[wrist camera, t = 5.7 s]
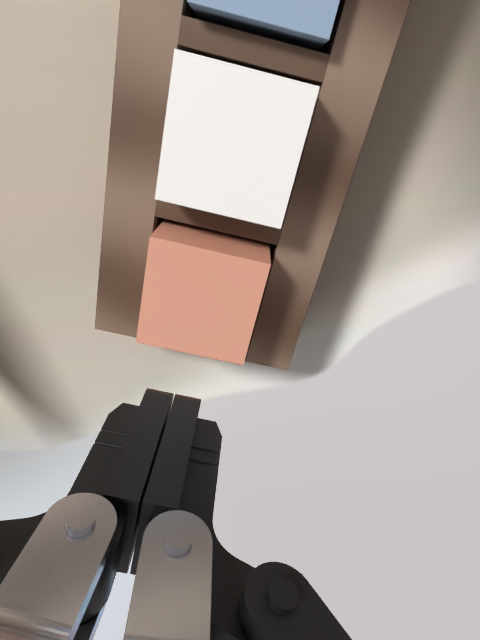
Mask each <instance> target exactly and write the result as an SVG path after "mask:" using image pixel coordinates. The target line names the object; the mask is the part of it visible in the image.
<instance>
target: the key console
mask: <svg viewBox="0 0 480 640" xmlns="http://www.w3.org/2000/svg"><path fill="white" fill-rule="evenodd" d="M410 1H411V0H340V2H339V5H338V9H337V13H336V16H335V20H334V24H333V27H332V31H331V35H330V38H329V40H328V41H327V42H326V43H325V44H324V45H323V46H322V47H321V48H320V49H319V50H318V51H317V50H314V49H310V48H306V47H302V46H299V45H295V44H291V43H287V42H284V41H280V40H276V39H273V38H269V37H265V36H261V35H258V34H254V33H250V32H246V31H243V30H239V29H235V28H231V27H228V26H224V25H220V24H217V23H213V22H209V21H205V20H202V19H198V17H197V16H196V14H195V13H194V11H193V10H192V8H191V7H190V5H189V4H188V2H187V0H121V1H120V13H119V26H118V39H117V52H116V64H115V77H114V90H113V103H112V115H111V128H110V141H109V153H108V166H107V179H106V192H105V204H104V217H103V230H102V243H101V255H100V268H99V281H98V294H97V306H96V319H95V329H99V330H104V331H108V332H113V333H118V334H122V335H127V336H131V337H137V329H138V322H139V314H140V306H141V299H142V291H143V284H144V276H145V268H146V261H147V253H148V246H149V238H150V236H151V234H152V233H153V232H154V231H155V230H156V229H157V227H158V226H159V225H160V224H161V223H162V222H163V221H164V219H167V220H171V221H175V222H179V223H184V224H188V225H192V226H196V227H201V228H205V229H209V230H214V231H218V232H222V233H226V234H231V235H235V236H239V237H243V238H248V239H252V240H256V241H260V242H265V243H269V246H270V259H271V266H270V270H269V274H268V277H267V281H266V284H265V288H264V292H263V295H262V299H261V303H260V306H259V310H258V314H257V317H256V321H255V324H254V328H253V332H252V335H251V339H250V343H249V346H248V350H247V354H246V357H245V361H248V362H252V363H257V364H262V365H266V366H271V367H275V368H280V369H285V370H287V369H288V366H289V363H290V360H291V357H292V354H293V351H294V348H295V345H296V342H297V339H298V336H299V333H300V330H301V327H302V324H303V321H304V318H305V315H306V312H307V309H308V306H309V303H310V300H311V297H312V294H313V291H314V288H315V285H316V282H317V279H318V276H319V274H320V271H321V268H322V265H323V262H324V259H325V256H326V253H327V250H328V247H329V244H330V241H331V238H332V235H333V232H334V229H335V226H336V223H337V220H338V217H339V214H340V211H341V208H342V205H343V202H344V199H345V196H346V193H347V190H348V187H349V184H350V181H351V178H352V175H353V172H354V169H355V166H356V163H357V160H358V157H359V154H360V151H361V148H362V145H363V142H364V139H365V136H366V133H367V130H368V127H369V124H370V121H371V118H372V115H373V112H374V109H375V106H376V103H377V100H378V97H379V94H380V91H381V88H382V85H383V82H384V79H385V76H386V73H387V70H388V67H389V64H390V61H391V58H392V55H393V52H394V49H395V46H396V43H397V40H398V37H399V34H400V31H401V28H402V25H403V22H404V19H405V16H406V13H407V10H408V7H409V4H410ZM174 48H175V49H178V50H182V51H186V52H190V53H194V54H197V55H201V56H205V57H209V58H213V59H216V60H220V61H224V62H228V63H232V64H236V65H239V66H243V67H247V68H251V69H255V70H258V71H262V72H266V73H270V74H274V75H278V76H281V77H285V78H289V79H293V80H297V81H300V82H304V83H308V84H312V85H316V86H320V88H319V92H318V95H317V99H316V103H315V106H314V110H313V114H312V117H311V121H310V124H309V128H308V132H307V135H306V139H305V143H304V146H303V150H302V154H301V157H300V161H299V164H298V168H297V172H296V175H295V179H294V183H293V186H292V190H291V194H290V197H289V201H288V204H287V208H286V212H285V215H284V219H283V223H282V226H281V229H278V228H274V227H270V226H266V225H261V224H257V223H253V222H249V221H245V220H240V219H236V218H232V217H228V216H224V215H219V214H215V213H211V212H207V211H202V210H198V209H194V208H190V207H186V206H181V205H177V204H173V203H169V202H165V201H160V200H156V199H155V192H156V185H157V177H158V170H159V162H160V154H161V147H162V139H163V132H164V124H165V116H166V109H167V101H168V94H169V86H170V78H171V71H172V63H173V56H174Z"/></svg>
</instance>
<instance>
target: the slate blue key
mask: <svg viewBox="0 0 480 640" xmlns="http://www.w3.org/2000/svg"><path fill="white" fill-rule="evenodd" d="M187 2H188V4H189V5H190V7H191V8H192V10H193V11H194V13H195V14H196V16H197V17H198V19H202V20H205V21H209V22H213V23H217V24H220V25H224V26H228V27H231V28H235V29H239V30H243V31H246V32H250V33H254V34H258V35H261V36H265V37H269V38H273V39H276V40H280V41H284V42H287V43H291V44H295V45H299V46H302V47H306V48H310V49H314V50H317V51H318V50H319V49H320V48H321V47H322V46H323V45H324V44H325V43H326V42H327V41H328V40H329V38H330V35H331V31H332V27H333V24H334V20H335V16H336V13H337V9H338V5H339V2H340V0H187Z"/></svg>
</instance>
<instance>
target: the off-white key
mask: <svg viewBox="0 0 480 640" xmlns="http://www.w3.org/2000/svg"><path fill="white" fill-rule="evenodd" d="M319 88H320V86H316V85H312V84H308V83H304V82H300V81H297V80H293V79H289V78H285V77H281V76H278V75H274V74H270V73H266V72H262V71H258V70H255V69H251V68H247V67H243V66H239V65H236V64H232V63H228V62H224V61H220V60H216V59H213V58H209V57H205V56H201V55H197V54H194V53H190V52H186V51H182V50H178V49H175V48H174V56H173V63H172V71H171V78H170V86H169V94H168V101H167V109H166V116H165V124H164V132H163V139H162V147H161V154H160V162H159V170H158V177H157V185H156V192H155V199H156V200H160V201H165V202H169V203H173V204H177V205H181V206H186V207H190V208H194V209H198V210H202V211H207V212H211V213H215V214H219V215H224V216H228V217H232V218H236V219H240V220H245V221H249V222H253V223H257V224H261V225H266V226H270V227H274V228H278V229H281V226H282V223H283V219H284V215H285V212H286V208H287V204H288V201H289V197H290V194H291V190H292V186H293V183H294V179H295V175H296V172H297V168H298V164H299V161H300V157H301V154H302V150H303V146H304V143H305V139H306V135H307V132H308V128H309V124H310V121H311V117H312V114H313V110H314V106H315V103H316V99H317V95H318V92H319Z"/></svg>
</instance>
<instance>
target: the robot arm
mask: <svg viewBox="0 0 480 640" xmlns="http://www.w3.org/2000/svg"><path fill="white" fill-rule="evenodd" d="M172 401H173V404H172ZM200 403H201V399H197V398H192V397H187V396H182V395H178V394H175V397H174V400H173V394H172V393H168V392H163V391H158V390H153V389H148V388H147V390H146V392H145V394H144V397H143V399H142V401H141V404H140V406H136V405H131V404H126V403H122V404H121V405H120V406H118V407H117V408H116V409H115V410H113V411H112V412H111V413H109V415H108V417H107V419H106V421H105V423H104V425H103V427H102V429H101V431H100V433H99V435H98V437H97V439H96V440H95V444H93V446H92V449H91V450H90V452H89V454H88V456H87V458H86V461H85V462H84V464H83V466H82V468H81V470H80V472H79V474H78V476H77V478H76V480H75V482H74V484H73V486H72V488H71V490H70V492H69V493H68V495H67V496H66V497H64V498H62V499H61V500H59V501H57V502H56V503H55V504H54V505H53V506H52V507H51V508H49V510H48V511H47V512H45V513H43V514H40V515H37V516H34V517H30V518H23V519H15V520H5V521H0V640H93V637H94V634H95V632H96V629H97V627H98V624H99V622H100V619H101V616H102V614H103V611H104V608H105V603H106V602H107V600H108V597H109V595H110V592H111V588H112V585H113V582H114V579H115V575H116V572H122V573H127V572H128V569H129V565H130V562H131V558H132V555H133V551H134V555H133V561H132V566H131V572H130V574H134V575H136V576H135V581H134V587H133V592H132V597H131V602H130V607H129V612H128V618H127V623H126V628H125V633H124V639H123V640H352V639H351V638H350V637H349V636H348V634H347V633H346V631H345V630H344V629H343V627H342V626H341V625H340V624H339V622H338V621H337V619H336V618H335V617H334V616H333V614H332V613H331V612H330V610H329V609H328V607H327V606H326V605H325V603H324V602H323V601H322V600H321V598H320V597H319V596H318V594H317V593H316V592H315V590H314V589H313V588H312V586H311V585H310V584H309V582H308V581H307V580H306V579H305V577H304V576H303V575H302V574H301V573H299V572H298V571H297V570H296V569H294V568H293V567H291V566H289V565H287V564H283V563H280V562H268V563H263V564H261V565H259V566H258V567H256V568H254V567H252V566H250V565H248V564H246V563H245V562H243V561H241V560H239V559H237V558H236V557H234V556H233V555H231V554H230V553H229V552H227V551H226V550H225V549H224V548H223V546H222V545H221V544H220V542H219V541H218V539H217V537H216V535H215V533H214V529H213V523H212V520H213V519H212V518H213V509H214V501H215V492H216V483H217V475H218V466H219V457H220V450H221V441H222V436H221V433H220V431H219V428H218V426H217V423H216V422H213V421H209V420H204V419H199V418H197V417H198V412H199V407H200ZM171 406H172V407H171ZM134 548H135V549H134Z"/></svg>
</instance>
